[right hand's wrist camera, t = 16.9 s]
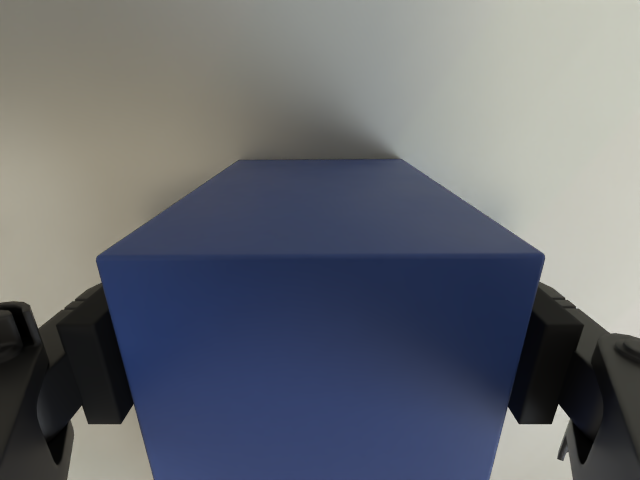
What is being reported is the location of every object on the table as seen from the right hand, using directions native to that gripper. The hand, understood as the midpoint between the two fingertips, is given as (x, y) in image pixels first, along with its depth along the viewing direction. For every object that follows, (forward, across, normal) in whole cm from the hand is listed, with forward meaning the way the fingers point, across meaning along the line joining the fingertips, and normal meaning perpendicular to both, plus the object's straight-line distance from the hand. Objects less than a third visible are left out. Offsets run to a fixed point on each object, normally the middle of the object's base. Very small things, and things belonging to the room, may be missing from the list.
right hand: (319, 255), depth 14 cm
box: (+4, 0, -9) cm, 10 cm away
